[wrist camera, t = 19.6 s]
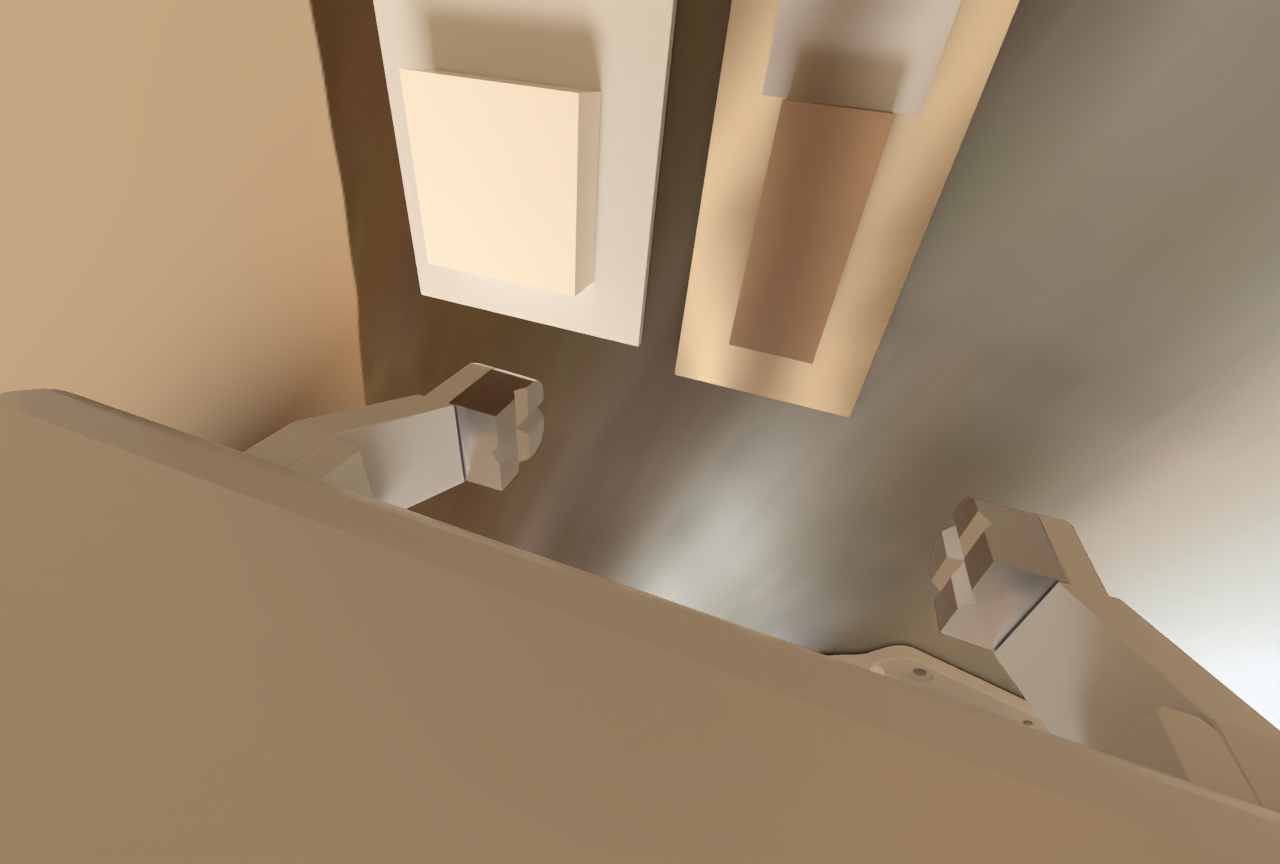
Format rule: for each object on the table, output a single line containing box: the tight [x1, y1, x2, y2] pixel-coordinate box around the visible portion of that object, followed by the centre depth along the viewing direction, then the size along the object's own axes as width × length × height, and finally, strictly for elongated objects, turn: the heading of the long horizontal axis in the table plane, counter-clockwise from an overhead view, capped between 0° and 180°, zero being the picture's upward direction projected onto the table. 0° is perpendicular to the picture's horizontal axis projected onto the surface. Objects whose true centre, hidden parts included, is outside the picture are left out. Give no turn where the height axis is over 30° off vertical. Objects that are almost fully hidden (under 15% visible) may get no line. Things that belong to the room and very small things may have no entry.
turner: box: [729, 0, 961, 364], centre depth 21 cm, size 6×17×3 cm, turn 174°
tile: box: [399, 69, 601, 296], centre depth 26 cm, size 9×3×9 cm
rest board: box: [675, 0, 1020, 418], centre depth 23 cm, size 10×22×1 cm, turn 174°
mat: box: [373, 0, 677, 346], centre depth 27 cm, size 15×17×1 cm
